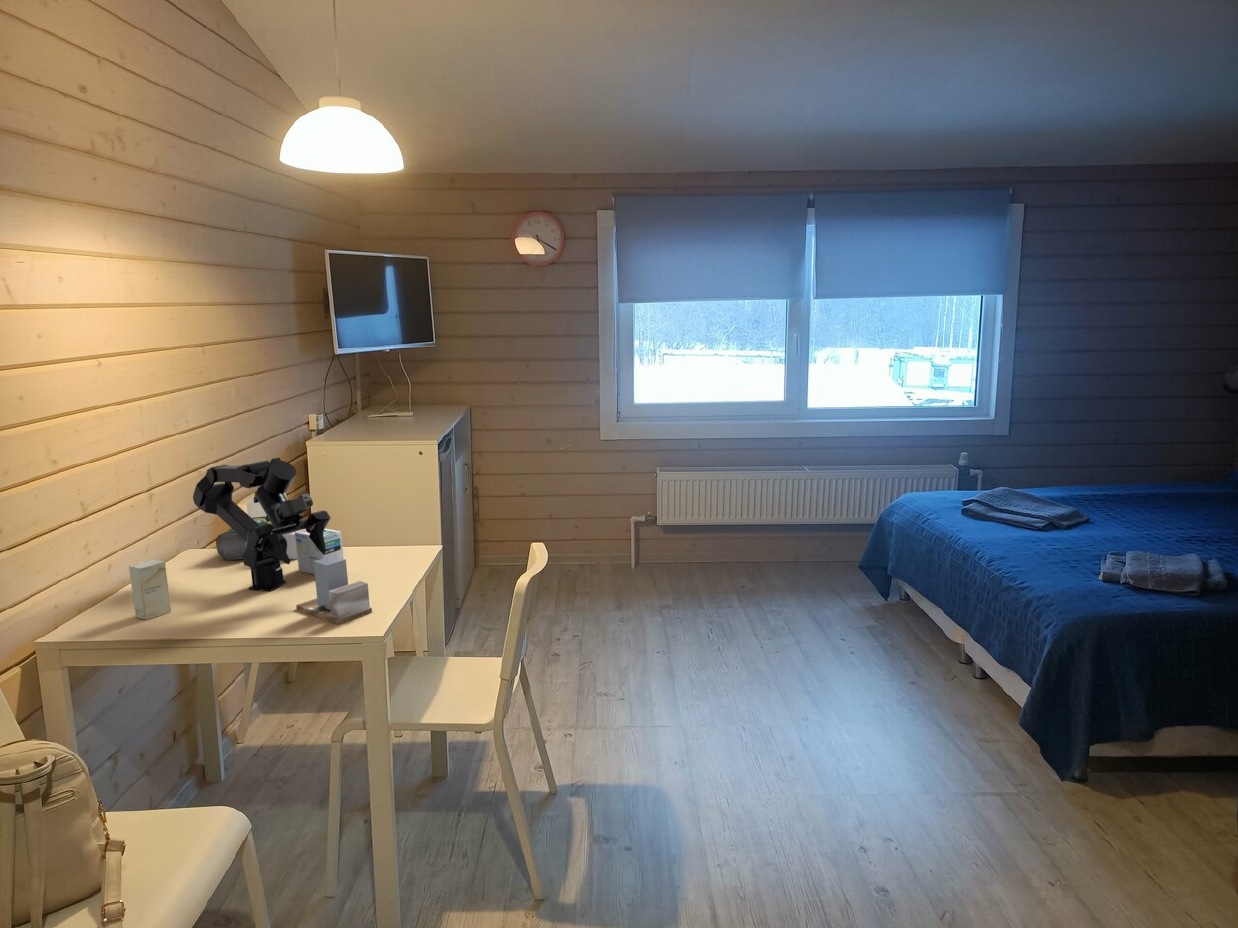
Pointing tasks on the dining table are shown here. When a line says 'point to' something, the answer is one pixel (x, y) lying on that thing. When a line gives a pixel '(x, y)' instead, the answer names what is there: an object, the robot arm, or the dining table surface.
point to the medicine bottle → (291, 545)
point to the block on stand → (341, 604)
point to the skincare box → (150, 589)
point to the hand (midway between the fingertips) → (307, 557)
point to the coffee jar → (234, 542)
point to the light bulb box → (311, 553)
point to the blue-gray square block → (329, 578)
